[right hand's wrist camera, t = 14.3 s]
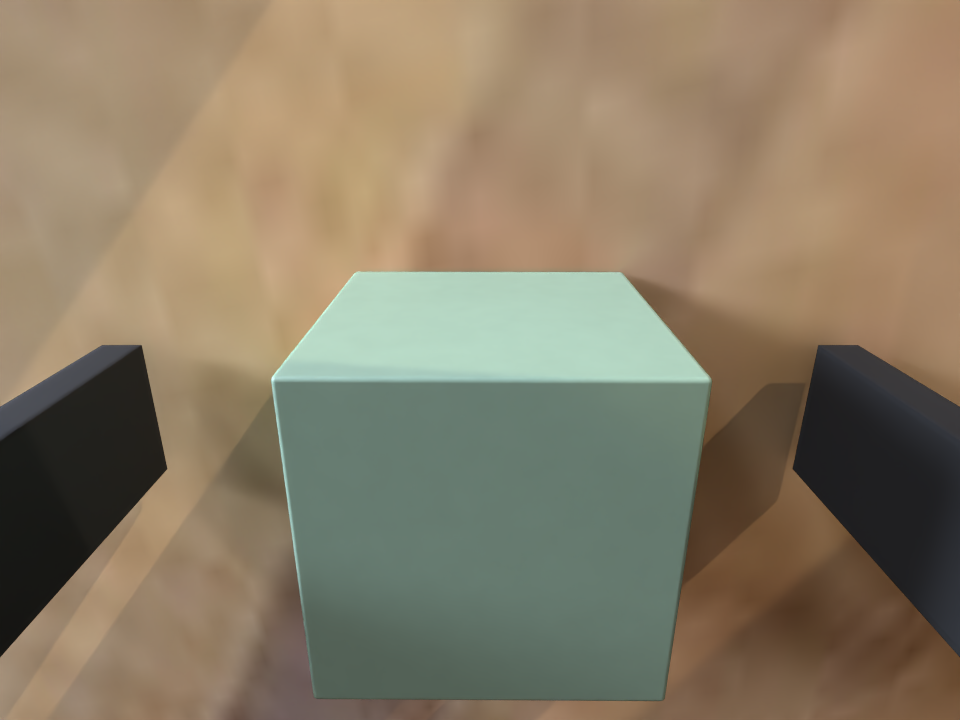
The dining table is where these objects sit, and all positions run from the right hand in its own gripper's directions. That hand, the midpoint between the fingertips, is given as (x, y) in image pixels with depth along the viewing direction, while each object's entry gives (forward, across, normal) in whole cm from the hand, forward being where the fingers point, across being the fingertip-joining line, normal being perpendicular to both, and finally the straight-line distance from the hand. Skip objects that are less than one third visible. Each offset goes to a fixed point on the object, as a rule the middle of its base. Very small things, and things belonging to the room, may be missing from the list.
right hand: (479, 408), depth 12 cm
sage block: (0, 0, 0) cm, 0 cm away
